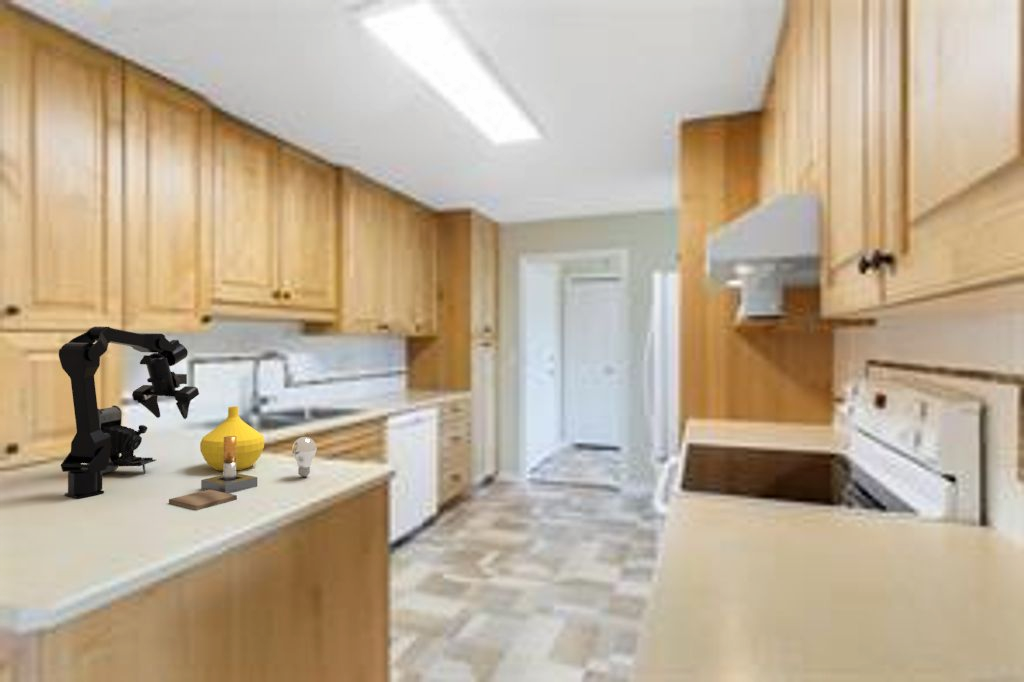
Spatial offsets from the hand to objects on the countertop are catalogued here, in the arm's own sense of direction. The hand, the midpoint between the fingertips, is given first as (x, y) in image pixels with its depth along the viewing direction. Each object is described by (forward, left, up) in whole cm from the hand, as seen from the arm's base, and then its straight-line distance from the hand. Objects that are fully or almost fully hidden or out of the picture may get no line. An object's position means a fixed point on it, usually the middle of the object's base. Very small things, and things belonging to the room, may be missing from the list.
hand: (172, 417), depth 188 cm
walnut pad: (-18, -42, -16) cm, 48 cm away
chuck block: (-6, -36, -15) cm, 40 cm away
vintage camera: (-12, +4, -16) cm, 20 cm away
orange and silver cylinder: (-6, -36, -16) cm, 40 cm away
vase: (+10, -16, -16) cm, 24 cm away
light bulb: (+13, -44, -16) cm, 49 cm away
